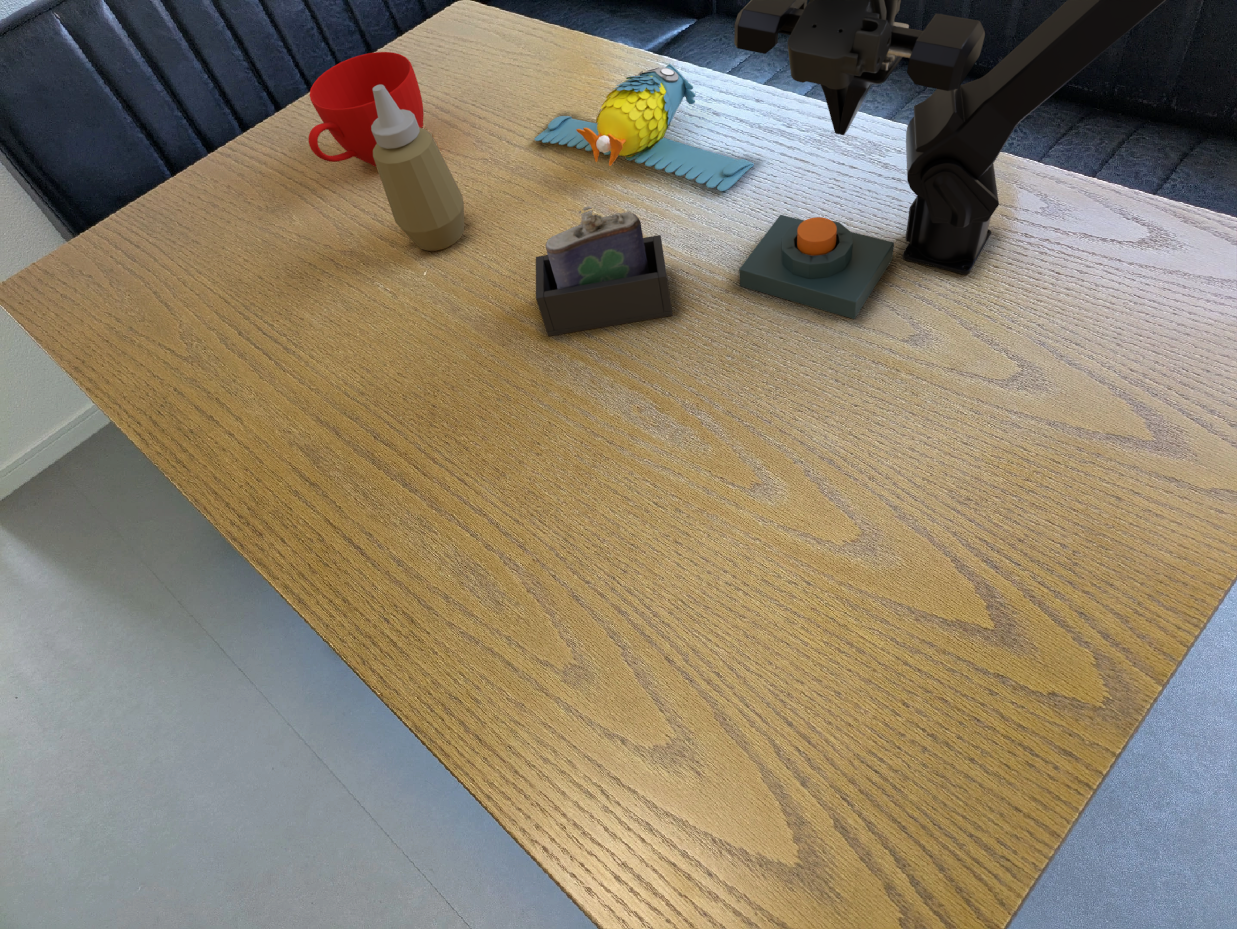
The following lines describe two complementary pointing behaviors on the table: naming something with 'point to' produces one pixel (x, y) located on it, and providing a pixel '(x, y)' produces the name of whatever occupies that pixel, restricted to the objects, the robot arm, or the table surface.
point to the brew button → (816, 236)
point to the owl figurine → (646, 130)
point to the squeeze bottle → (415, 177)
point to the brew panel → (817, 268)
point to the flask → (598, 250)
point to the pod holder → (604, 296)
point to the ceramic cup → (361, 101)
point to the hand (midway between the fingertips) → (841, 132)
